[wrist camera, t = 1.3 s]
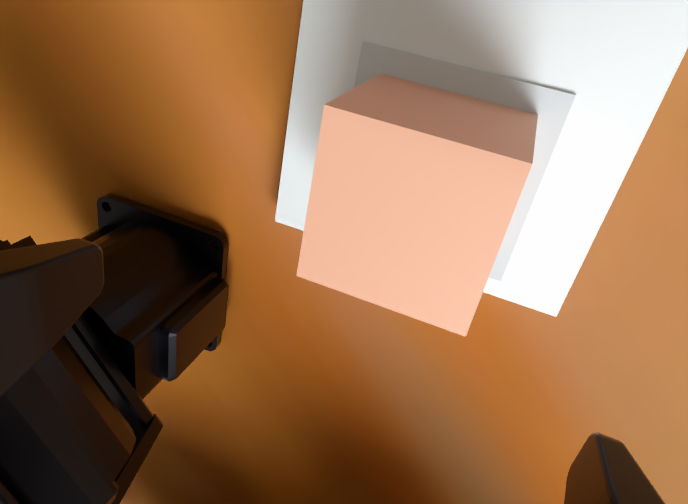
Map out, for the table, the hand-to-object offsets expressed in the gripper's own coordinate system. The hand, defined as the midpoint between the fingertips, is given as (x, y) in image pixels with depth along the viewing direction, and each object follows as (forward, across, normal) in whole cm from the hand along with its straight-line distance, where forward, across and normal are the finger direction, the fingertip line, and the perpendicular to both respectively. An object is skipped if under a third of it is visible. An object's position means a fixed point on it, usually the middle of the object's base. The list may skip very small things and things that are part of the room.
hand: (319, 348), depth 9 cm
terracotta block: (+10, 0, 0) cm, 10 cm away
